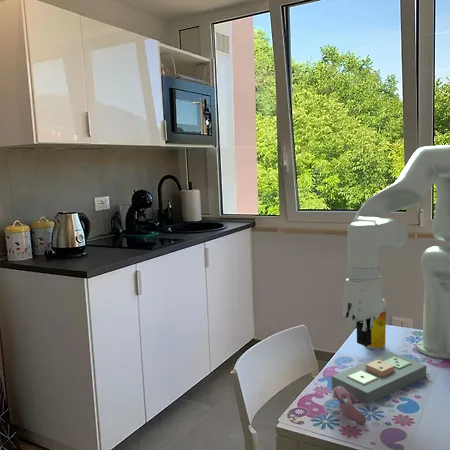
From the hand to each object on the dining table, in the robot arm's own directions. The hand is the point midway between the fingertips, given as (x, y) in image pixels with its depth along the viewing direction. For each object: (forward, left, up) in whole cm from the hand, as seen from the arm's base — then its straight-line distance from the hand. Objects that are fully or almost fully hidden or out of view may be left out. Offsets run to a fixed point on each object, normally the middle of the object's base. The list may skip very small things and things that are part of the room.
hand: (364, 343), depth 115 cm
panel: (-7, 0, -12) cm, 14 cm away
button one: (0, 0, -11) cm, 12 cm away
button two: (-7, 0, -10) cm, 12 cm away
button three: (-14, 0, -12) cm, 18 cm away
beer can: (-25, -15, -12) cm, 31 cm away
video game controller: (+12, +5, -12) cm, 18 cm away
